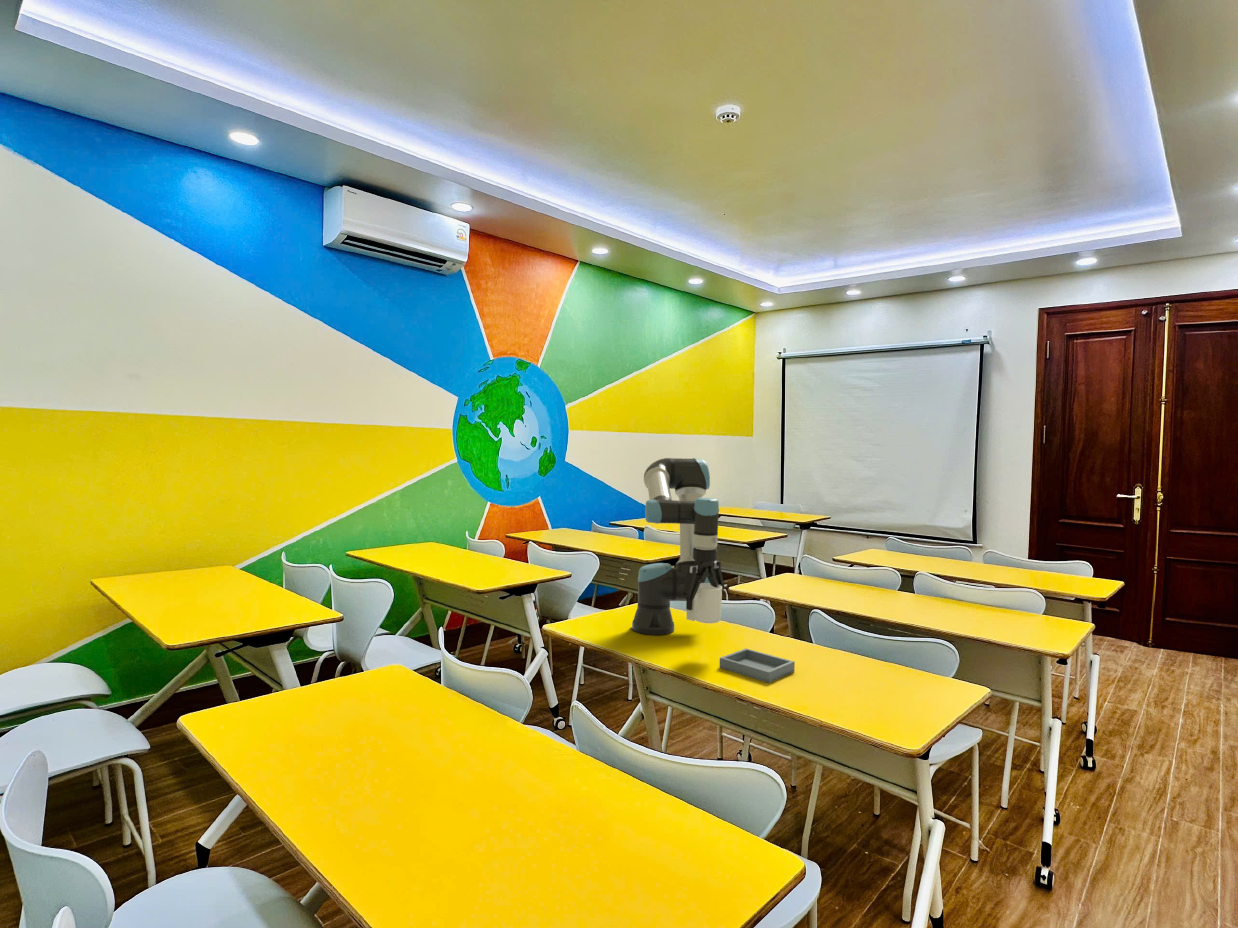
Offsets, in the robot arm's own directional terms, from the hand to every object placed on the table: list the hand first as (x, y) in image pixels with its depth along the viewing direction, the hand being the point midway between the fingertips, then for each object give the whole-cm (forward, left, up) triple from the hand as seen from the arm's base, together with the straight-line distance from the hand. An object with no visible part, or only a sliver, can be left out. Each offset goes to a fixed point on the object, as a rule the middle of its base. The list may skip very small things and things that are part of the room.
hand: (703, 616), depth 210 cm
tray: (+18, +3, -13) cm, 23 cm away
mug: (0, 0, -2) cm, 2 cm away
